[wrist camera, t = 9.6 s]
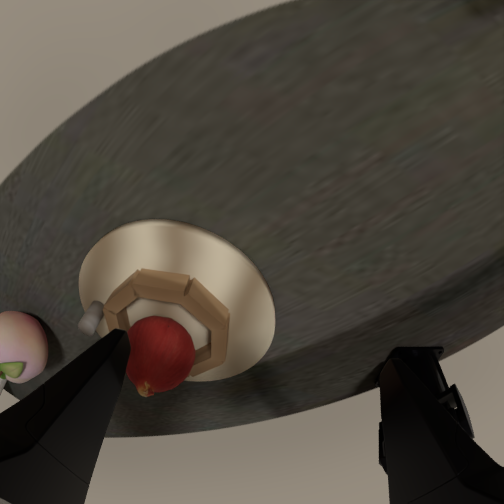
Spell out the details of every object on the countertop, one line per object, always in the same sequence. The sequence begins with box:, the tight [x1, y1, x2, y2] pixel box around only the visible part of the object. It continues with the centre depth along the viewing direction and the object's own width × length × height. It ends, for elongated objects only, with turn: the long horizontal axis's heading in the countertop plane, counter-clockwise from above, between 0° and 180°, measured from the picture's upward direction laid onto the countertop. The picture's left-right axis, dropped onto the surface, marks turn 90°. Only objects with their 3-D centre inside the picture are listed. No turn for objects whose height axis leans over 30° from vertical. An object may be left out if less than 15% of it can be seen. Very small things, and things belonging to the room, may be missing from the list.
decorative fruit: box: [0, 311, 48, 383], centre depth 25 cm, size 9×8×10 cm
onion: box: [126, 315, 196, 397], centre depth 22 cm, size 6×6×8 cm
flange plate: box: [78, 219, 275, 382], centre depth 24 cm, size 18×18×4 cm
